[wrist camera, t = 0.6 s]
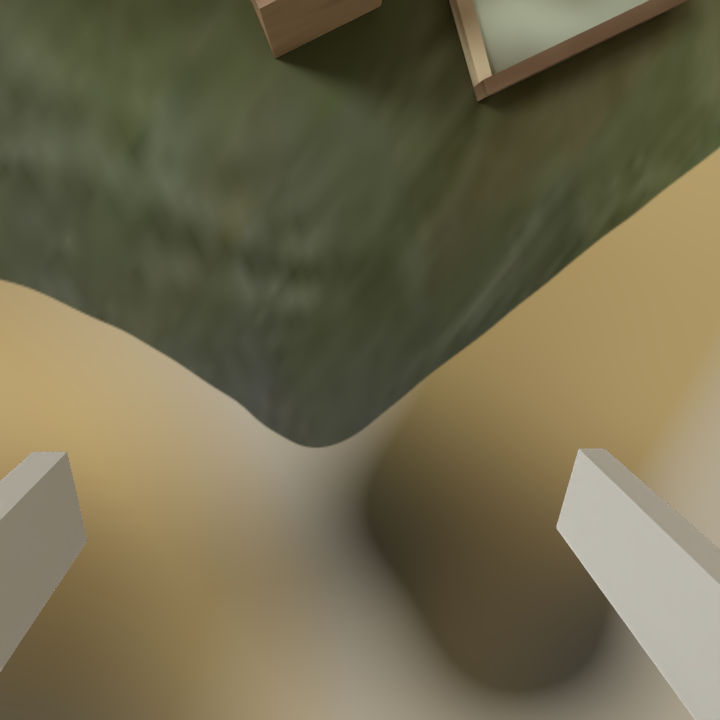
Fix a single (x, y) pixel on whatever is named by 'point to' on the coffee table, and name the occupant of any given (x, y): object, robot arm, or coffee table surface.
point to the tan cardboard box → (305, 19)
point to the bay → (539, 33)
